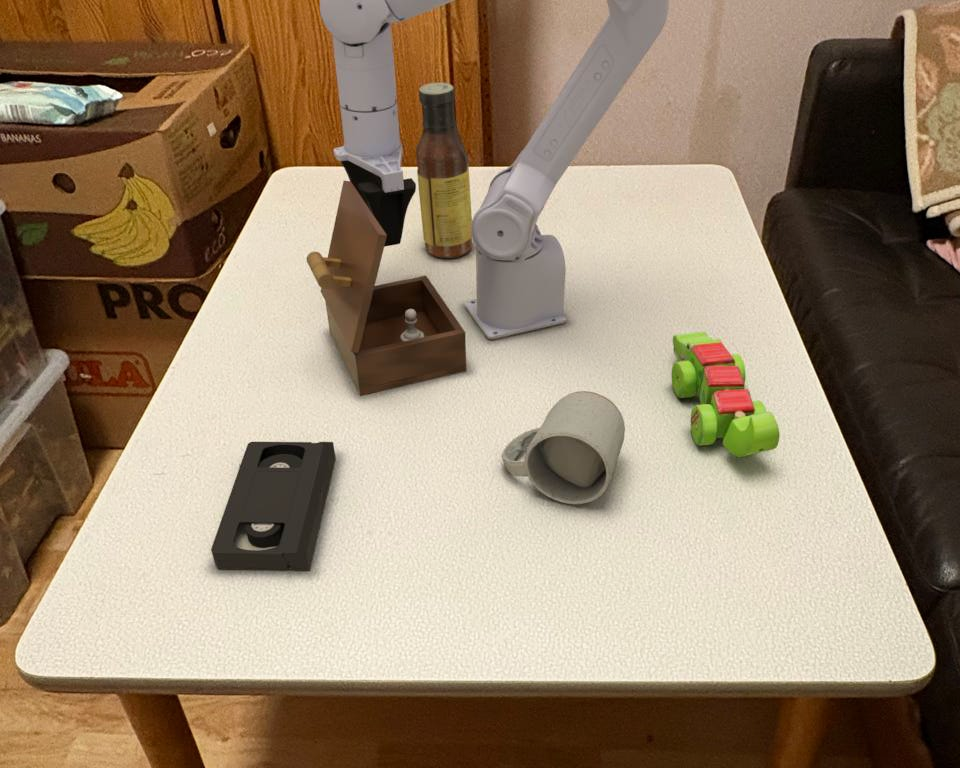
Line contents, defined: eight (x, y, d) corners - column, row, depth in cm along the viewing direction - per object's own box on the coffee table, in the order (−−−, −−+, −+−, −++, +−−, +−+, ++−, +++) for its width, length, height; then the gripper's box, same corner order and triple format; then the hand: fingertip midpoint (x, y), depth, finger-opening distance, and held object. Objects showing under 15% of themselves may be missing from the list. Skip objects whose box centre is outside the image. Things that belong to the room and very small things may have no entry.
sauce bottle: (482, 244, 117) (479, 84, 103) (455, 265, 113) (449, 101, 100) (439, 232, 119) (432, 74, 106) (412, 252, 115) (400, 91, 102)
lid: (351, 181, 91) (310, 174, 90) (387, 235, 83) (343, 229, 81) (327, 292, 98) (289, 288, 96) (358, 353, 89) (317, 350, 88)
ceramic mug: (625, 455, 85) (632, 388, 80) (606, 513, 79) (612, 444, 74) (517, 435, 88) (516, 369, 83) (491, 490, 82) (489, 422, 77)
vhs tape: (252, 457, 86) (248, 441, 84) (335, 458, 85) (333, 441, 84) (214, 569, 75) (209, 552, 74) (309, 570, 75) (306, 553, 74)
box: (428, 312, 105) (426, 275, 101) (466, 371, 96) (465, 332, 93) (329, 333, 102) (324, 295, 98) (360, 395, 93) (355, 356, 90)
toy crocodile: (658, 358, 97) (665, 309, 93) (719, 355, 97) (729, 305, 93) (709, 481, 82) (720, 429, 78) (781, 476, 83) (796, 423, 79)
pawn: (412, 351, 97) (409, 318, 95) (395, 342, 99) (392, 310, 96) (429, 341, 99) (427, 309, 96) (413, 332, 100) (410, 300, 97)
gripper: (312, 84, 95) (328, 207, 104) (348, 133, 85) (362, 265, 94) (377, 75, 97) (387, 197, 106) (420, 122, 87) (427, 252, 96)
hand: (380, 228), depth 100 cm, fingers open, 7 cm apart
